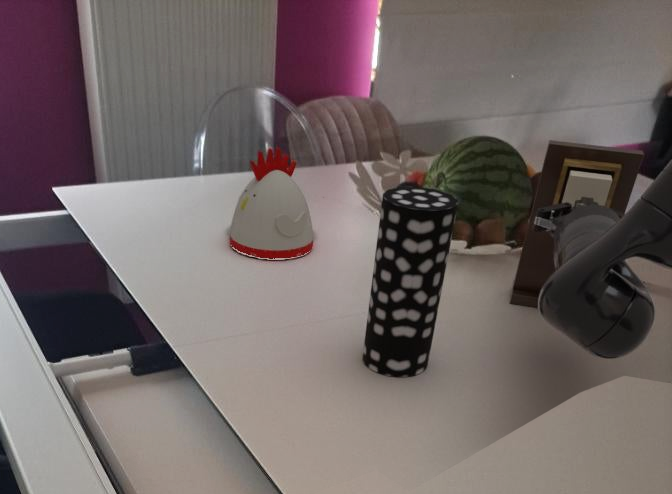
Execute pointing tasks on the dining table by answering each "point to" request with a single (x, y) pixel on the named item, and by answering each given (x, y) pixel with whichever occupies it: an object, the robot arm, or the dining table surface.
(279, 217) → the kitchen timer
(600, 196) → the switch button
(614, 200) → the wall panel
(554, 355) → the dining table surface
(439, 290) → the spotted tube
